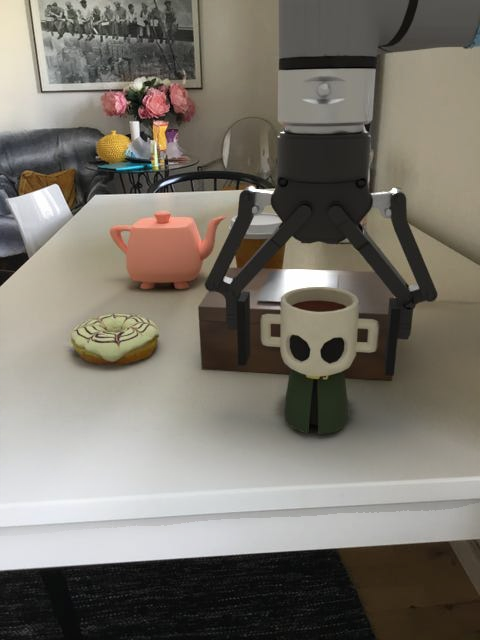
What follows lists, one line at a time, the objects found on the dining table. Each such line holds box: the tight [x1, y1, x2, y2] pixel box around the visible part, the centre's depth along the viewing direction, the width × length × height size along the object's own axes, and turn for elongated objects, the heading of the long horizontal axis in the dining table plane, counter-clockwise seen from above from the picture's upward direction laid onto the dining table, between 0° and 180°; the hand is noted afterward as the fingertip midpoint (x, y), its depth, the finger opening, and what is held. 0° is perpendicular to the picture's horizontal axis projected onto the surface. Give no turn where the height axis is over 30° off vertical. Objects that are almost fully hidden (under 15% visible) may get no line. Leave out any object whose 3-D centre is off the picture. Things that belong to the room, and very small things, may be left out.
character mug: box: [260, 287, 379, 435], centre depth 54 cm, size 11×7×13 cm, turn 79°
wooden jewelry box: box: [197, 267, 395, 381], centre depth 71 cm, size 22×15×8 cm
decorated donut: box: [70, 312, 161, 365], centre depth 72 cm, size 10×11×4 cm
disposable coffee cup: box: [228, 212, 287, 269], centre depth 89 cm, size 10×10×12 cm
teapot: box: [109, 210, 228, 290], centre depth 96 cm, size 20×12×12 cm, turn 86°
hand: (314, 364), depth 54 cm, fingers open, 13 cm apart
